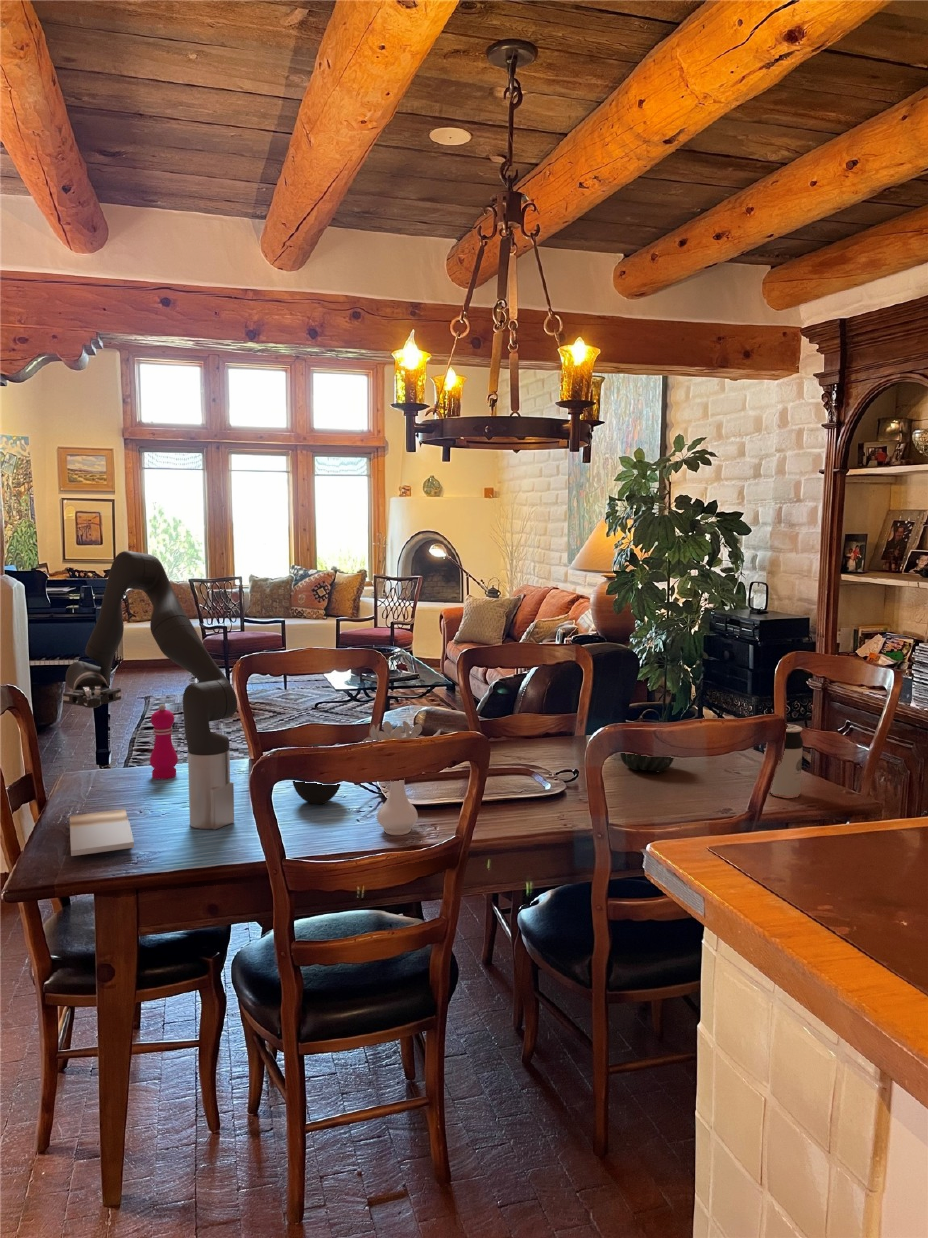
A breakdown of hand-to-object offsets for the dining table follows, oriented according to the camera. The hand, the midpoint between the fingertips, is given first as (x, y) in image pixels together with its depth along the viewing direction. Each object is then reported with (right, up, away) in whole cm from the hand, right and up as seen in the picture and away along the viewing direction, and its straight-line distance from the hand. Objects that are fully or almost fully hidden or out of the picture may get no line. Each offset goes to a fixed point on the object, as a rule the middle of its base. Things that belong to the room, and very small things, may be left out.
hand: (94, 703), depth 194 cm
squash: (+134, -25, +58) cm, 148 cm away
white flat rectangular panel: (+2, -28, -1) cm, 28 cm away
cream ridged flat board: (+1, -29, +1) cm, 30 cm away
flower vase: (+67, -30, +6) cm, 74 cm away
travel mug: (+165, -27, +35) cm, 171 cm away
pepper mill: (0, -25, +46) cm, 52 cm away
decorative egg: (+45, -27, +25) cm, 58 cm away
